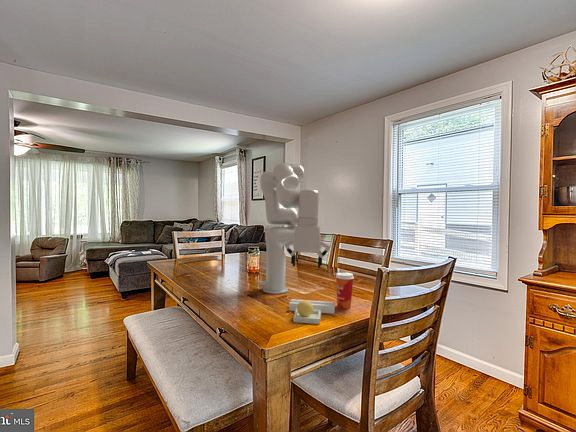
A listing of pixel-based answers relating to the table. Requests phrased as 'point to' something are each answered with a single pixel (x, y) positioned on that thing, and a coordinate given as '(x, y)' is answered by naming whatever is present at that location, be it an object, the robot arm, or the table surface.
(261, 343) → the table surface
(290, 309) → the rails
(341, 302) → the paper cup
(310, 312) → the ball
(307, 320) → the dish
